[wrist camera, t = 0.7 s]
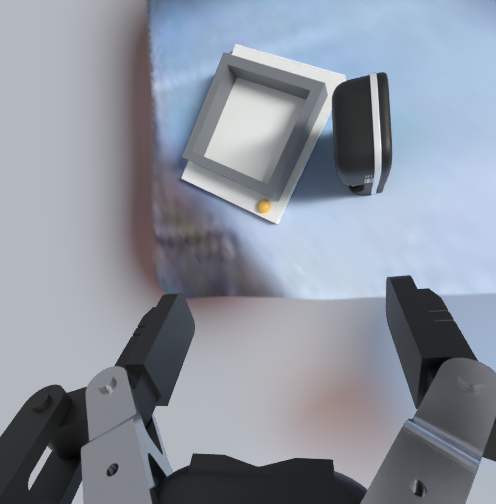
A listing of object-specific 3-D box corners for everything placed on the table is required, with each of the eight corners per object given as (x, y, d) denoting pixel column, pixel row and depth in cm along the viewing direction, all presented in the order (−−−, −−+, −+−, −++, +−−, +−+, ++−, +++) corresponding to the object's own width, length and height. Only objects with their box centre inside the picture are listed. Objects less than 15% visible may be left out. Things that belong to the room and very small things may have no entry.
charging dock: (238, 49, 35) (226, 28, 32) (345, 80, 31) (344, 60, 28) (185, 180, 38) (168, 173, 35) (278, 224, 34) (269, 221, 31)
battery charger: (338, 132, 32) (326, 72, 21) (378, 124, 30) (387, 56, 20) (342, 200, 32) (332, 174, 21) (383, 195, 30) (394, 166, 20)
